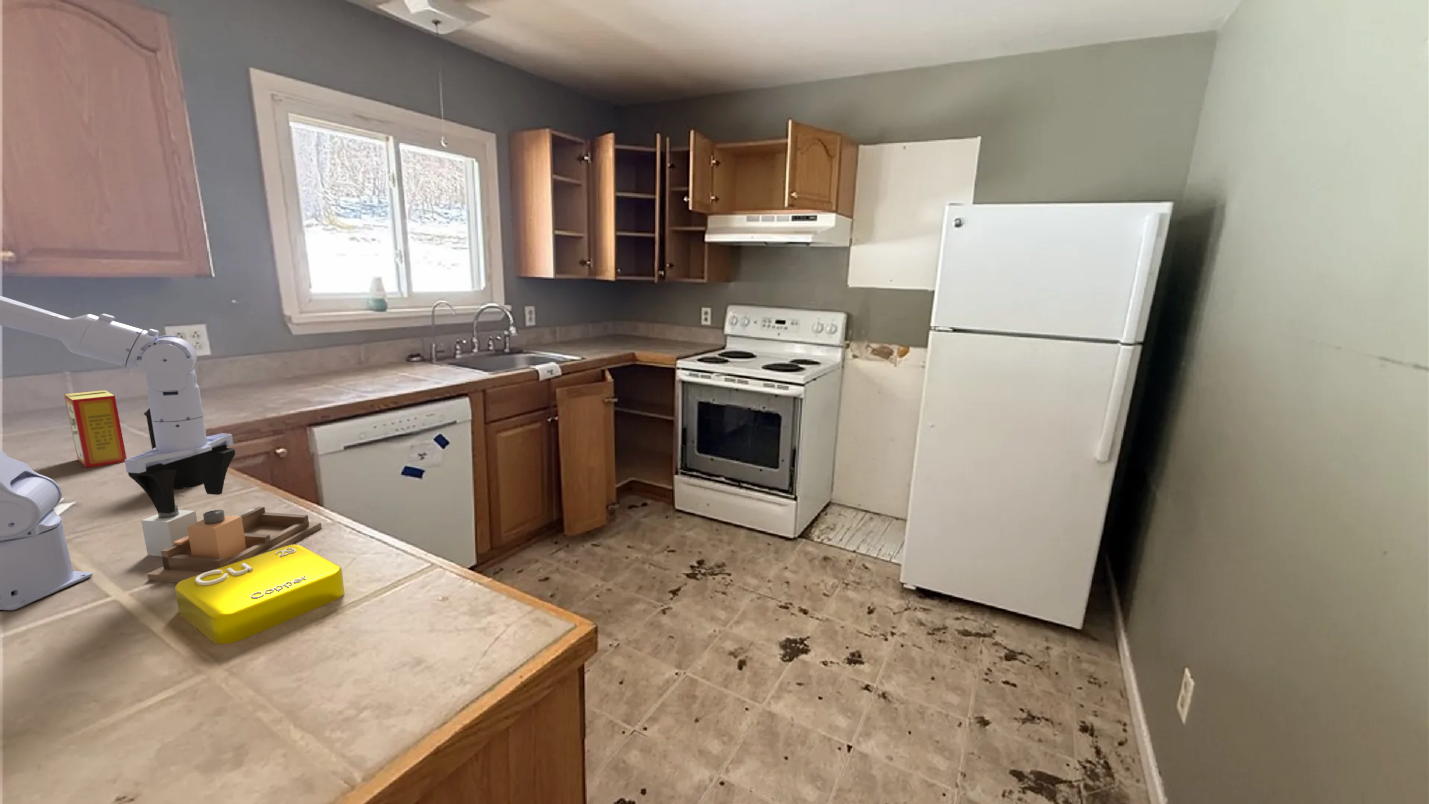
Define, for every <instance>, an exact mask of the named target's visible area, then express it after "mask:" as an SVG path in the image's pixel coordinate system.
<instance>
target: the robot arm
mask: <svg viewBox="0 0 1429 804" xmlns="http://www.w3.org/2000/svg"><path fill="white" fill-rule="evenodd" d="M115 320H116V317H115V316H113V315H110V314H108V313H107V314H106V313H102V314H99V316H98V315H94V314H91V313H89V314H88V313H87V314H83V315H80V316H77V317H69V316H65V315H62V314H58V313H55V312H53V311H50V310H46V309H43V308H40V307H37V306H34V305H31V304H27V303H25V302H21V301H19V300H15V299H11V298H9V297H5V296H2V295H0V326H1V327H6V328H11V329H14V330H19V331H23V332H26V333H30V334H34V335H39V336H43V337H47V338H50V339H51V338H52V339H56V340H59V341H60V342H61V343H62V344H63V345H64V346H65V348H66V350H68V351H69V352H70V353H72V354H74V355H75V354H76V355H78V356H83V357H87V358H89V359H90V358H91V359H95V360H99V361H103V362H107V363H110V364H114V365H117V366H122V367H126V368H129V369H133V368H138V369H139V371H140V372H142V373H143V374H144V375H145V378H146V384H147V389H146V392H147V393H146V395H147V399H148V405H149V408H150V413H151V419H152V425H153V431H154V437H155V443H156V448H154V449H152V448H151V449H150V450H147V451H145V452H142V453H139V454H138V455H135V456H132V457H129V458H127V459H125V462H124V464H125V471H126V473H127V474H128V477H130V479H132V480H133V481H134V482H135V483H137V485H139V486H140V487H141V489H142V490H143V491H144V492H145V493H146V494H147V496H148V497H149V499H150V501H151V502H152V504H153V506H154V508H155V510H156V512H157V514H158V513H172V512H174V511H175V505H176V501H175V493H174V490H175V489H174V480H175V475H176V472H177V470H172V469H166V467H163V464H167V463H170V462H174V461H177V460H180V459H184V458H187V457H190V456H194V457H195V459H196V461H197V463H198V465H199V468H200V470H201V473H202V477H203V487H204V490H205V492H206V494H207V495H215V496H219V495H222V494H223V490H224V485H225V484H224V483H225V481H226V475H227V473H228V468H229V467H230V464H231V463H232V461H233V459H234V457H235V455H236V449H235V448H229V447H232V446H234V439H233V434H231V433H218V434H213V435H208V436H207V432H206V426H205V424H206V423H205V418H204V410H203V402H202V397H201V390H200V386H199V385H198V382H197V381H198V375H197V373H196V369H192V368H194V367H195V365H196V363H197V359H198V355H197V354H198V353H197V351H196V349H195V348H194V346H193V345H192V344H191V343H190V342H188V341H187V340H185V339H183V338H180V337H179V336H177V335H173V334H165V335H160V331H159V330H157V329H153V328H149V329H148V330H146V329H142V328H139V327H134V326H131V325H128V324H125V323H122V322H118V321H115ZM159 335H160V336H159ZM62 498H63V491H62V487H61V486H60V485H59V483H57V481H55V480H54V479H52V478H50V477H48V476H46V475H43V474H40V473H38V472H36V471H35V470H34V469H32V468H31V467H30V466H29V465H28V464H27V463H26V462H23V461H21V460H18V459H15V458H13V457H10V456H8V455H7V454H6V453H5V452H4V451H3V450H2V449H1V448H0V611H1V610H2V611H15V610H18V609H20V608H22V607H24V606H26V605H28V604H32V603H33V602H35V601H38V600H41V599H43V598H45V597H48V596H49V595H51V594H54V593H56V592H59V591H60V590H63V589H65V588H68V587H70V586H72V585H74V584H77V583H78V582H82V581H83V580H86V579H88V578H90V577H92V576H93V572H90V571H79V570H73V565H72V560H71V555H70V550H69V547H68V541H67V538H66V532H65V527H64V522H63V519H62V517H61V516H60V514H58V513H57V512H56V511H55V508H56V507H58V505H59V504H60V502H61V500H62Z"/></svg>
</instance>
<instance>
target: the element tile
mask: <svg viewBox="0 0 1429 804" xmlns="http://www.w3.org/2000/svg"><path fill="white" fill-rule="evenodd" d="M342 569H343V568H342V567H341V566H340V565H338V564H336V563H335V562H332V561H331V560H329V559H327V558H325V557H324V556H322V555H320V554H317V553H316V552H314V551H312V550H311V549H309V548H307V547H305V546H302V545H298V544H295V543H293V544H292V545H288V546H285V547H282V548H279V549H276V550H273V551H270V552H267V553H264V554H260V555H257V556H254V557H251V558H248V559H245V560H242V561H239V562H236V563H233V564H230V565H227V566H224V567H221V568H218V569H215V570H212V571H209V572H206V573H203V574H200V575H197V576H194V577H191V578H188V579H185V580H182V581H180V582H177V584H176V585H175V587H174V590H175V596H176V597H175V598H176V601H177V602H176V603H177V607H178V611H179V615H182V616H183V617H182V616H181V617H182V618H184V619H185V618H186V619H187V620H188V621H189V622H188V621H187V620H186V619H185V620H186V621H187V622H188V623H190V624H191V623H192V624H193V625H194V626H196V627H197V628H198V629H199V630H200V631H201V633H202V632H203V633H202V634H203V635H204V634H205V635H206V636H207V637H206V636H205V635H204V636H205V637H206V638H208V639H209V638H210V639H209V640H210V641H211V642H212V641H213V642H212V643H215V644H216V645H229V644H233V643H237V642H239V641H242V640H245V639H247V638H250V637H252V636H254V635H256V634H259V633H261V632H264V631H266V630H268V629H270V628H274V627H275V626H278V625H281V624H283V623H285V622H287V621H289V620H293V619H295V618H297V617H300V616H302V615H304V614H306V613H307V614H308V613H309V612H311V611H313V610H315V609H316V610H317V609H318V608H321V607H323V606H325V605H328V604H330V603H332V602H334V601H337V600H339V599H340V598H342V597H343V596H344V594H345V587H344V579H343V570H342ZM192 624H191V625H192ZM193 625H192V626H193ZM194 626H193V627H194ZM196 627H195V628H196ZM197 628H196V629H197ZM198 629H197V630H198ZM199 630H198V631H199Z"/></svg>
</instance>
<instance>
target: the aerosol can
mask: <svg viewBox="0 0 1429 804" xmlns="http://www.w3.org/2000/svg"><path fill="white" fill-rule="evenodd" d="M143 415H144V416H145V417H146V422H147V428H148V433H149V439H150V445H151V449H154V448H156V443H155V437H154V431H153V425H152V419H151V413H150V407H149V408H147V410H146V411H145V412H143ZM163 467H166V469H172V470H177V472H176V475H175V480H174V490H181V488H182V489H185V488H186V487H188V488H192V487H196V485H197V486H200V485H202V483H203V477H202V473H201V470H200V468H199V465H198V463H197V461H196V459H195V457H194V456H190V457H187V458H184V459H180V460H177V461H174V462H170V463H167V464H163ZM199 484H200V485H199ZM203 484H204V483H203ZM186 489H187V488H186Z"/></svg>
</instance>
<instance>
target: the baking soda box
mask: <svg viewBox="0 0 1429 804" xmlns="http://www.w3.org/2000/svg"><path fill="white" fill-rule="evenodd" d="M63 396H64V400H65V404H66V410H67V415H68V419H69V425H70V429H71V434H72V438H73V439H72V440H73V443H74V448H75V454H76V459H77V461H78V462H79V463H81V465H82V466H83V467H84V468H86V469H88V468H89V469H90V468H96V467H101V466H107V465H113V463H114V464H119V463H125V459H128V458H127V453H126V448H125V443H124V436H123V432H122V427H121V423H120V422H121V421H120V416H119V411H118V410H119V409H118V405H117V400H116V396H115V395H114V394H112V393H111V392H109V391H108V390H105V389H104V390H93V391H82V392H73V393H72V392H71V393H64V395H63Z"/></svg>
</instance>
